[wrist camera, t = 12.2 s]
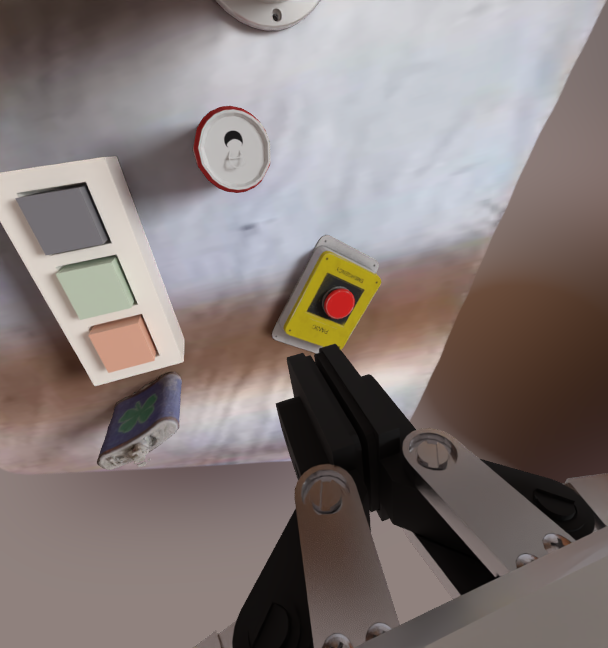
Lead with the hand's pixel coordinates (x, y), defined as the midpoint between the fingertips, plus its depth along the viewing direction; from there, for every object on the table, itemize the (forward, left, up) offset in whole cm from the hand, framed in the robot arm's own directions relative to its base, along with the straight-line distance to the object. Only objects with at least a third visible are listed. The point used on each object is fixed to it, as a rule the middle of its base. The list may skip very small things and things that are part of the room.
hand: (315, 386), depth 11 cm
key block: (+2, -13, -29) cm, 32 cm away
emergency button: (+12, +10, -30) cm, 33 cm away
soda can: (-7, +1, -29) cm, 30 cm away
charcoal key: (-4, -13, -27) cm, 30 cm away
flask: (+18, -15, -29) cm, 38 cm away
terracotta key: (+8, -13, -27) cm, 31 cm away
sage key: (+2, -13, -27) cm, 30 cm away
